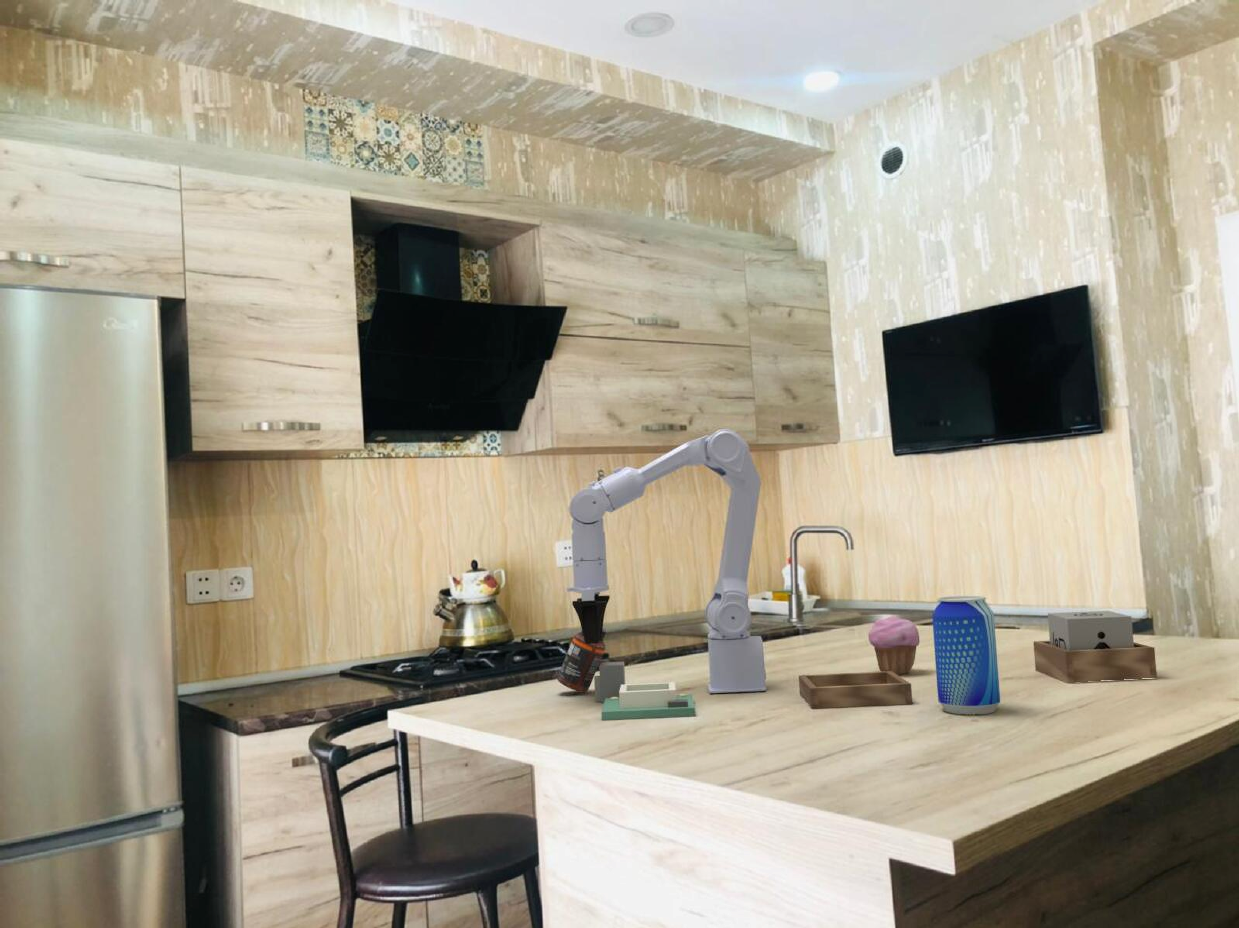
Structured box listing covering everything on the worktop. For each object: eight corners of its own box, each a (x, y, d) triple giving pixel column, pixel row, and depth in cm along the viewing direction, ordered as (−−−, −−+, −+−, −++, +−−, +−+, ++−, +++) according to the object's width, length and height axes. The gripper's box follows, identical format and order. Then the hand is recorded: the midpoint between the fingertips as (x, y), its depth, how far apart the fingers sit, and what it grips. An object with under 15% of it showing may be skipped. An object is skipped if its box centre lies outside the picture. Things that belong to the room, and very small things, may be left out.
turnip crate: (892, 689, 165) (891, 671, 165) (912, 704, 152) (911, 683, 152) (799, 694, 165) (798, 675, 166) (811, 708, 153) (810, 688, 153)
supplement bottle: (588, 690, 181) (613, 631, 181) (585, 696, 175) (611, 635, 175) (558, 676, 181) (583, 617, 181) (553, 682, 175) (579, 621, 175)
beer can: (1010, 707, 145) (1002, 595, 146) (986, 718, 139) (977, 600, 140) (954, 703, 151) (946, 595, 152) (928, 712, 145) (920, 600, 146)
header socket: (675, 697, 162) (674, 682, 162) (676, 706, 154) (675, 690, 154) (621, 699, 162) (621, 684, 162) (620, 708, 154) (619, 692, 154)
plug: (625, 697, 171) (624, 661, 171) (625, 701, 167) (623, 664, 167) (596, 698, 171) (594, 662, 172) (594, 703, 167) (593, 666, 168)
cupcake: (862, 672, 185) (859, 617, 185) (905, 668, 187) (902, 613, 187) (887, 679, 176) (883, 620, 176) (931, 674, 178) (927, 617, 179)
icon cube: (1052, 672, 175) (1047, 613, 175) (1112, 669, 174) (1108, 610, 174) (1072, 681, 165) (1067, 619, 165) (1136, 678, 164) (1131, 616, 164)
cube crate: (1117, 666, 176) (1115, 637, 176) (1157, 679, 162) (1154, 647, 162) (1035, 670, 176) (1033, 641, 177) (1067, 683, 162) (1065, 651, 163)
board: (692, 701, 164) (692, 689, 164) (695, 716, 152) (694, 702, 152) (606, 705, 164) (605, 693, 164) (601, 720, 152) (601, 706, 152)
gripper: (570, 559, 180) (573, 637, 179) (561, 563, 165) (565, 647, 165) (609, 557, 180) (613, 635, 179) (604, 560, 165) (608, 645, 164)
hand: (593, 640), depth 172 cm, fingers open, 7 cm apart
